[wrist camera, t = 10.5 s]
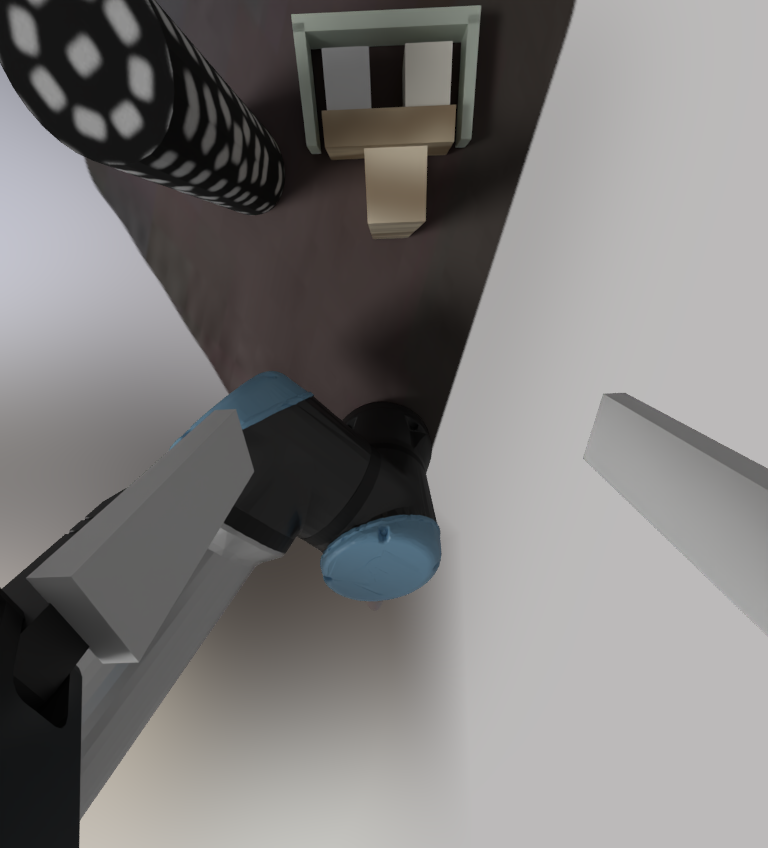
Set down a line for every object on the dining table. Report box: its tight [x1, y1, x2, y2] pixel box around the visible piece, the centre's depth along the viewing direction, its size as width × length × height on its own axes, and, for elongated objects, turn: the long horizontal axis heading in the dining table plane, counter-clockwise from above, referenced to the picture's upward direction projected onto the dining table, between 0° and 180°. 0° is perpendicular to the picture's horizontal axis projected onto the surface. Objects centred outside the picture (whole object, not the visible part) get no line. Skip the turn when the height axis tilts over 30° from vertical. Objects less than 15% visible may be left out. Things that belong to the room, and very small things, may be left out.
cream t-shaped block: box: [322, 105, 456, 239], centre depth 26 cm, size 10×12×16 cm
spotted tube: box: [0, 0, 285, 215], centre depth 24 cm, size 8×8×20 cm
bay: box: [291, 5, 481, 154], centre depth 29 cm, size 8×16×2 cm, turn 92°
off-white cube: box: [402, 41, 453, 107], centre depth 28 cm, size 4×4×4 cm
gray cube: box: [321, 46, 372, 110], centre depth 29 cm, size 4×4×4 cm
